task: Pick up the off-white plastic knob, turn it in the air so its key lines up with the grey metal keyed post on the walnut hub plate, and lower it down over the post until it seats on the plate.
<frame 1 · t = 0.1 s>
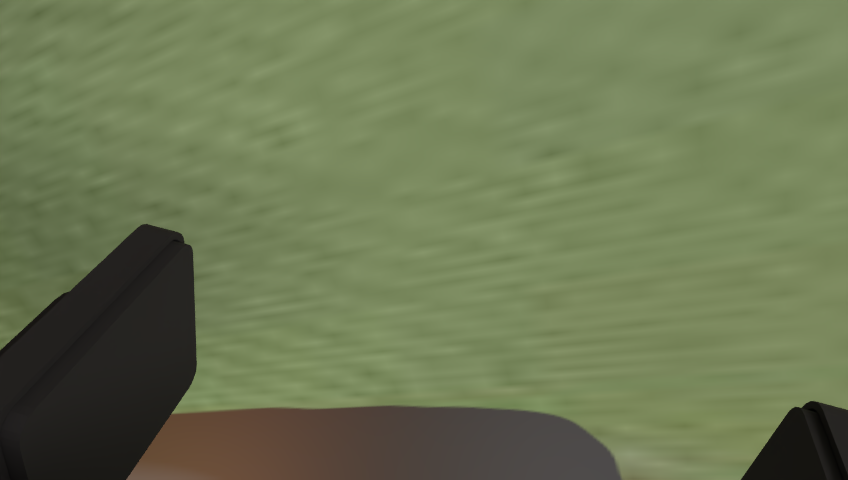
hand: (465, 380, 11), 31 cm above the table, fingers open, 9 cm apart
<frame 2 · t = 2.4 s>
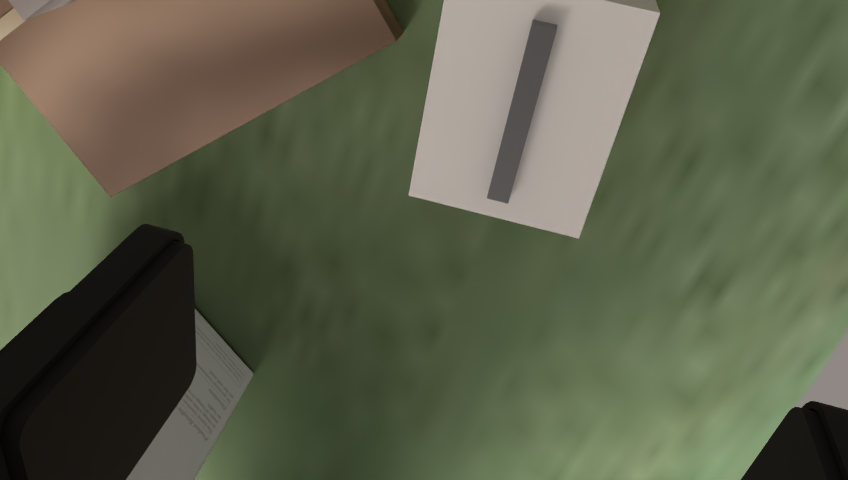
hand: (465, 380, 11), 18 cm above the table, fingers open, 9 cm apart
supplement box: (173, 345, 38), on the table
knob: (533, 54, 25), on the table
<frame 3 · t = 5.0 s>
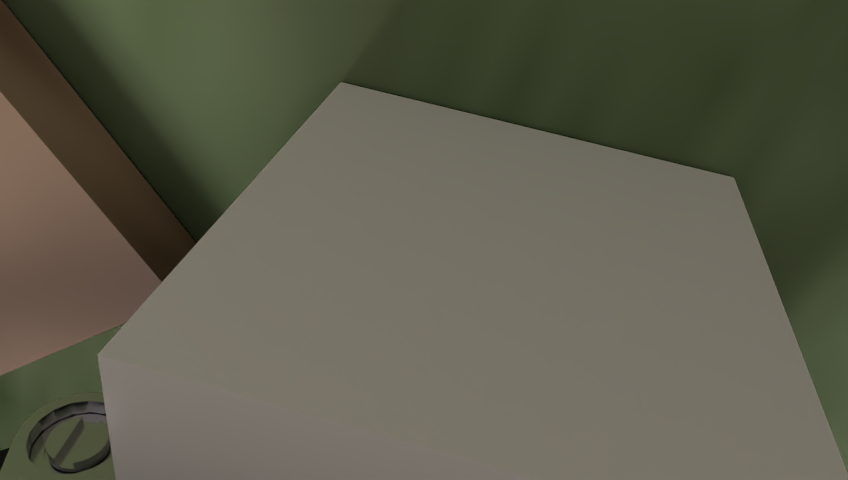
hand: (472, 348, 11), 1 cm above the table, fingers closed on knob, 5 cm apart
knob: (478, 319, 12), on the table, touching gripper
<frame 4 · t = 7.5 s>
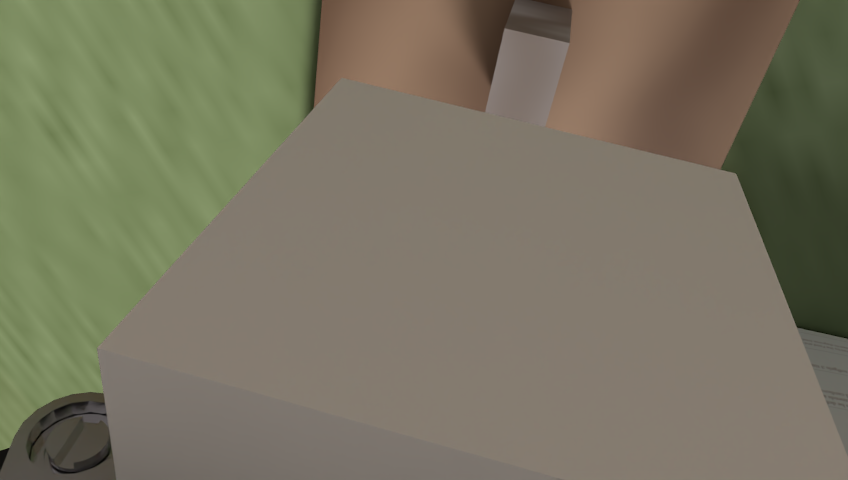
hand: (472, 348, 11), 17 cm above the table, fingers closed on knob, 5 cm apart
supplement box: (816, 391, 32), on the table
hub plate: (533, 43, 26), on the table
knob: (479, 316, 12), point 17 cm above the table, touching gripper
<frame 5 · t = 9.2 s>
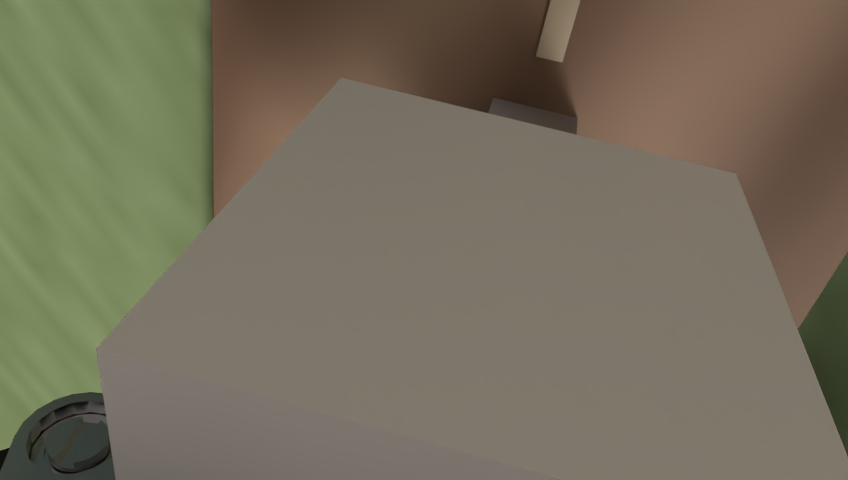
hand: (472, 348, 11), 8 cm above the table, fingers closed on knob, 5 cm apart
hub plate: (520, 154, 18), on the table
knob: (479, 316, 12), point 7 cm above the table, touching gripper
when the fingers open (4 cm above the table, at t = 10.4 s): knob drops 2 cm, resting on hub plate.
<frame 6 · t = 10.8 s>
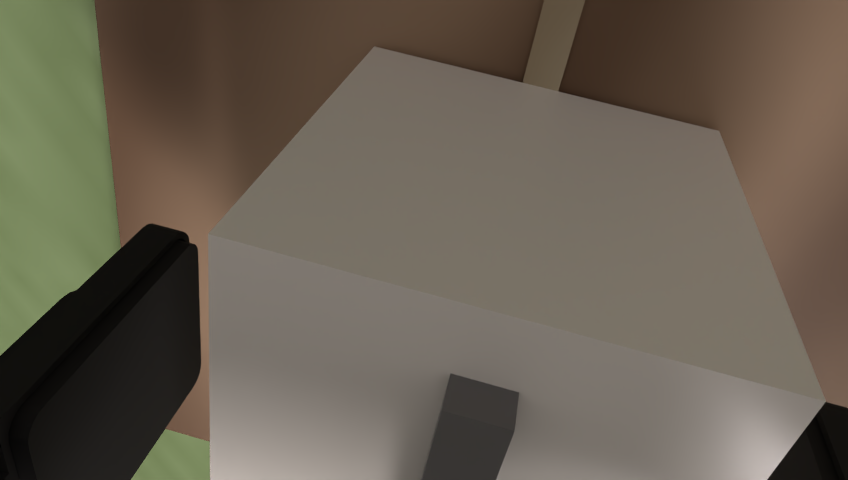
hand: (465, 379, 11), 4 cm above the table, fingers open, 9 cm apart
hub plate: (497, 231, 14), on the table
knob: (491, 265, 13), point 1 cm above the table, touching hub plate
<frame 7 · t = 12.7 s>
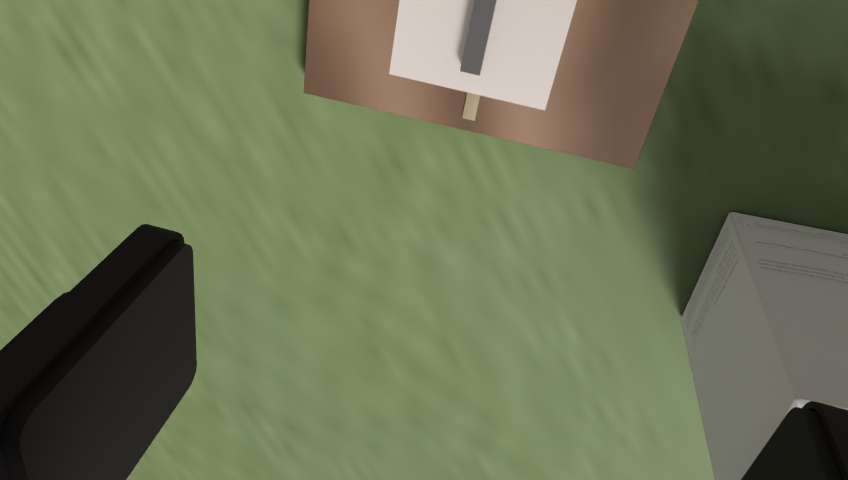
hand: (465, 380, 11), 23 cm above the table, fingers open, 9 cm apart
supplement box: (772, 279, 35), on the table
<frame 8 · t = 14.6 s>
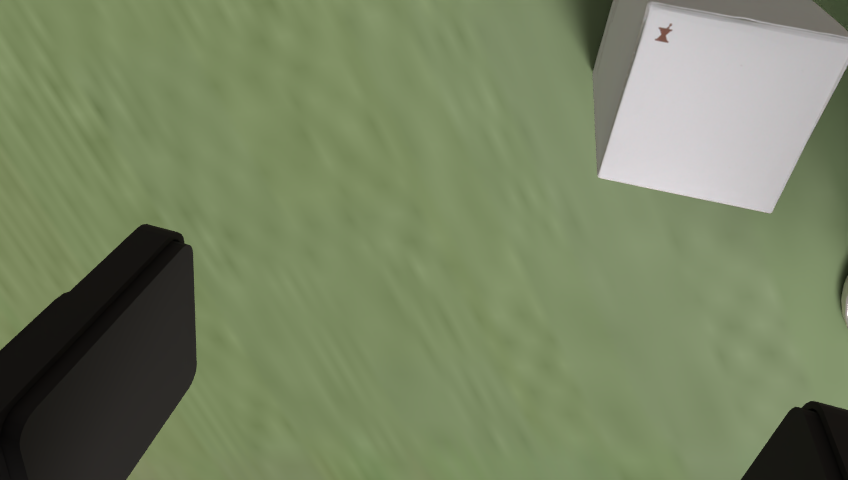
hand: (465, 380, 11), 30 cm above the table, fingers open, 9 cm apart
supplement box: (677, 23, 36), on the table
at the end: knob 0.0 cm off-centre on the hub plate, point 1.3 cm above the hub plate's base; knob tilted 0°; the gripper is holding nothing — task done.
